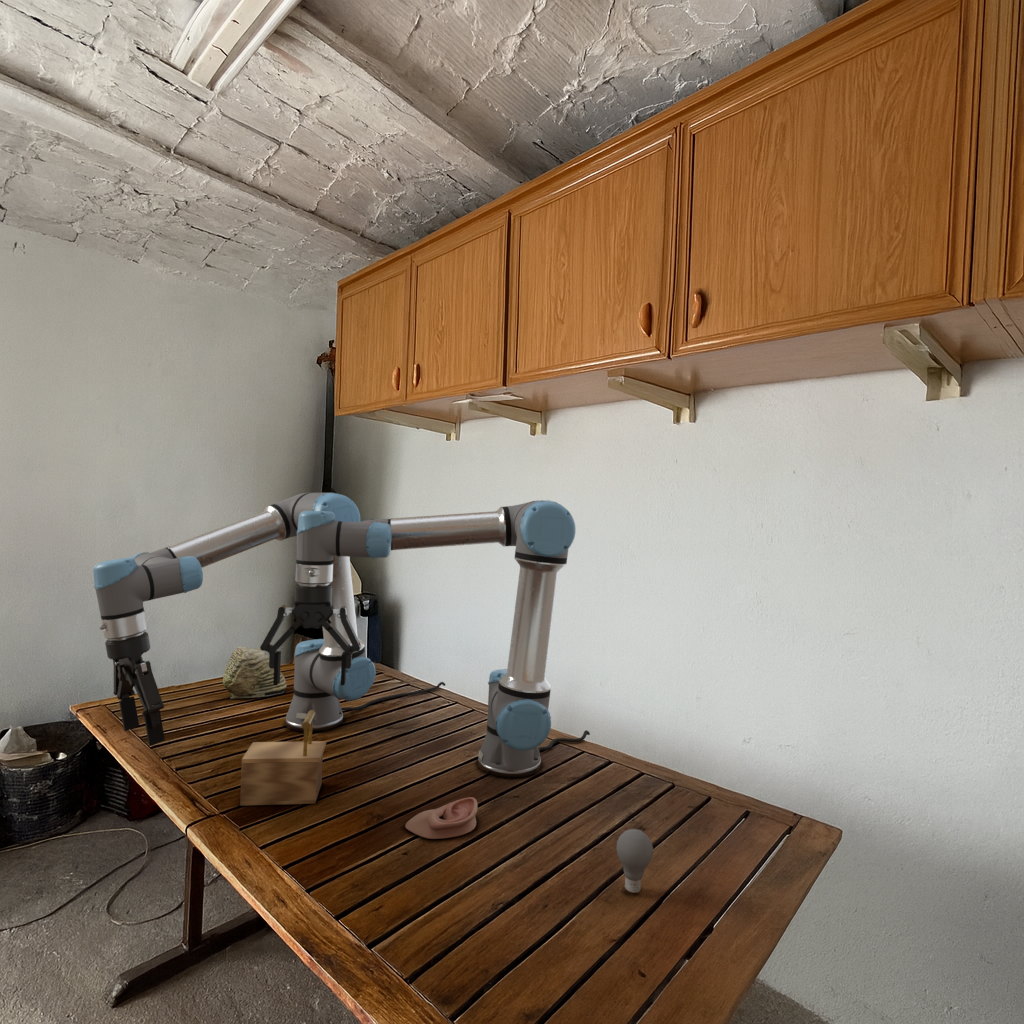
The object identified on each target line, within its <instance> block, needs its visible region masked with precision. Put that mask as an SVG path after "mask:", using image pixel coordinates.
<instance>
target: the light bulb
mask: <svg viewBox="0 0 1024 1024" xmlns="http://www.w3.org/2000/svg"><path fill="white" fill-rule="evenodd" d="M615 849H616V854H617V857H618V859H619V861H620V863H621V865H622V867H623V873H624V874H623V875H624V876H625V878H624V888H625V890H627V891H628V892H630V893H634V894H635V893H639V892H640V891H641V889H642V887H641V886H642V879H643V877H644V875H645V871H646V868H647V867H648V866H649V864H650V863H651V861H652V859H653V855H654V847H653V843H652V841H651V838H649V836H648V835H647V834H646V833H645V832H643V831H642V830H641V829H636V828H629V829H627V830H625V831H623V832H622V833H621V834H620V835H619V837H618V839H617V841H616V847H615Z"/></svg>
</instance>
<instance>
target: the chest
mask: <svg viewBox="0 0 1024 1024" xmlns="http://www.w3.org/2000/svg"><path fill="white" fill-rule="evenodd" d="M323 757H324V754H323V755H322V758H321V761H320V762H284V763H242V762H241V769H240V771H241V773H240V793H239V795H240V798H239V799H240V800H239V806H242V807H243V806H278V805H309V804H310V805H311V804H313V805H314V804H316V802H317V799H318V796H319V792H320V790H321V787H322V785H323V784H322V783H323V782H322V780H323Z"/></svg>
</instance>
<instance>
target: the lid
mask: <svg viewBox="0 0 1024 1024" xmlns="http://www.w3.org/2000/svg"><path fill="white" fill-rule="evenodd" d="M314 717H315V711H313V710H310V711H309V712H308V714H307V716H306V718H305V720H304V722H303V724H302V728H303V729H304V732H303V741H253V742H252V743H251V744H250V746H249V748H248V749H247V751H246V752H245V754H244V755H243V757H242V758H241V764H242V763H284V762H320V761H321V758H322V755H323V756H324V752H325V749H326V746H327V741H326V740H321V741H320V740H318V741H314V740H313V732H312V729H313V719H314ZM308 729H309V732H308Z"/></svg>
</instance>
